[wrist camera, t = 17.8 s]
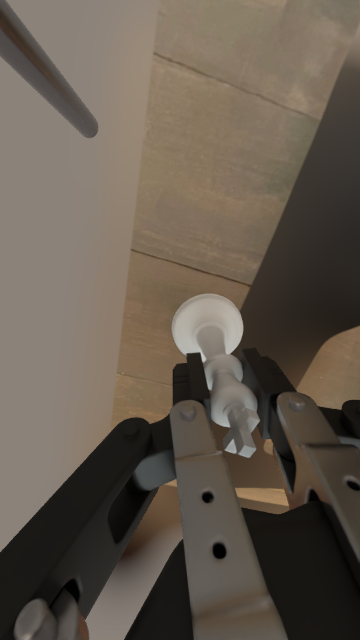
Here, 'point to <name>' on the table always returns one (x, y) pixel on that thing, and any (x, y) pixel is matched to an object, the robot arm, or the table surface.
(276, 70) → the table surface
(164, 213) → the table surface
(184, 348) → the chess piece
